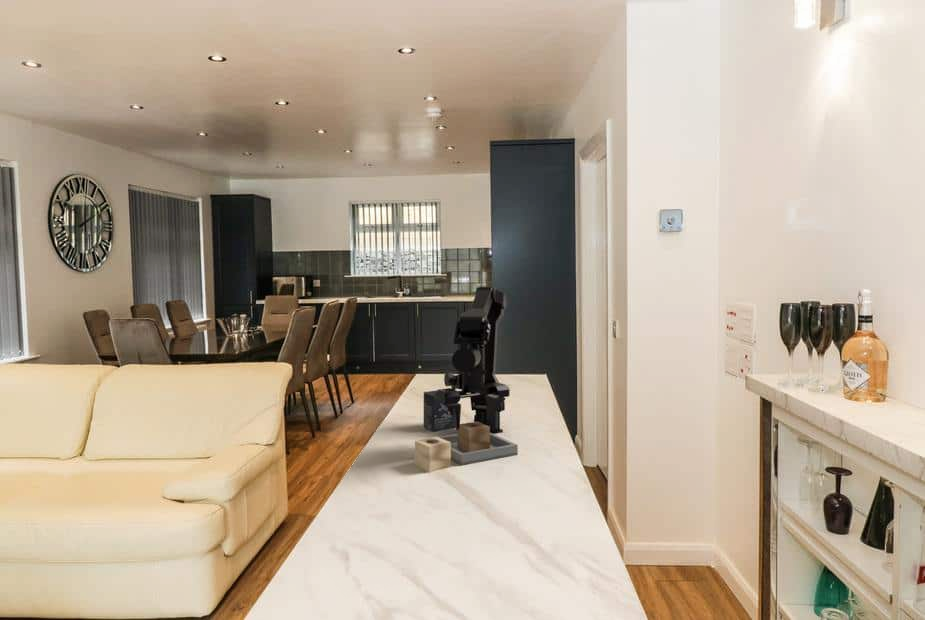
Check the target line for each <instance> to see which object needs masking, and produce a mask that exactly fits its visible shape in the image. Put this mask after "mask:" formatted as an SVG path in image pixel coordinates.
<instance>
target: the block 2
mask: <svg viewBox="0 0 925 620" xmlns="http://www.w3.org/2000/svg"><path fill="white" fill-rule="evenodd" d="M456 431H457V448H459V449H461V450H463V451H464V452H466V453H467V452H473V451H478V450H484V449H489V448H490V427H489V426H487V425H485V424H482V423H480V422H478V421H477V422H474V421H473V422H472V421H471V422H466V423H460V426H459V430H457V429H456Z"/></svg>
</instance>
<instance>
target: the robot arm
mask: <svg viewBox="0 0 925 620" xmlns="http://www.w3.org/2000/svg"><path fill="white" fill-rule="evenodd" d="M506 309H507V297H506V295H505V293H504V292H502V291H500V290H498V289H497V288H496V287H494V286H491V285H490V286H486V285H485V286H484V285H483V286H478V287H476V289H475V292H474V298H473V301H472V303H471V305H470V308H469V310H466V311H464V312H463V313H462V314H461V315H460V317H459V319H457V321H456V327H455V331H454V337H453V338H454V339H453V344H454V345H459V348H458V349H456V350H455V352H454V353H453V354H452V357H451V363H452V366H453V367H454V369H455V370H456V371H458V374H454V373H453V372H448V373H445V374H444V377H443V378H444V379H443V381H444V386H445V387H447V388H439V389H437V392H436V394H435V400H436V401H438V402H440V403H441V404H443V405H445V406H446V407H447V408H448V410H449V412H450V415H451V417H452V420H453V423H454V426H455V428H454V429H455V430H456V431H457V430H459V426H460V424H461V414H462V413H461V411H462V404H461V403H459V402H460V401H461V399H466V398H470V399H469V400H470V408H471V411H475V412H474V416H473V422H477V421H478V422H480V423H482V424H485V425H487V426H489V427H490V433H492V434H495V433H503V432H504V430H503V429H502V428H501V427H500V426H501V412H504V411H505V409H506V404H505V403H506V398H509V397H510V390H511V389H510V387H509V386H508V385H507V384H504V383H501V382H499V380H498V378H497V376H496V367H497V365H496V364H497V350H498V349H497V346H498V344H497V343H498V327H499V323H500V322H501V321H502V319H503V318H504V316H505V310H506ZM448 387H449V388H448Z"/></svg>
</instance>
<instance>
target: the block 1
mask: <svg viewBox="0 0 925 620" xmlns="http://www.w3.org/2000/svg"><path fill="white" fill-rule="evenodd" d="M438 437H439V436H433V437H432V436H431V437H428V438H423V439H418V440H415V441H414V463H415V466H416V467H417V468H419V469H422V470H424V471H426V472H428V473H432V472H437V471H441V470H444V469H447V468H448V469H449V468H451V467H452V460H451V442H449V441H446V440H444V439H441V438H438Z"/></svg>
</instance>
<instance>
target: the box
mask: <svg viewBox="0 0 925 620" xmlns="http://www.w3.org/2000/svg"><path fill="white" fill-rule="evenodd" d="M437 390H438V389H437ZM437 390H429V391H423V428H424V429H426V430H428V431H430V432H432V433H433V432H436V431H437V432H438V431H442V430H448V429H456V428H455V426H454V423H453V420H452V417H451V415H450V412H449V410H448V408H447V407H446V406H445V405H443V404H441V403H440V402H438V401H436V400H435V394H436V392H437Z"/></svg>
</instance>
